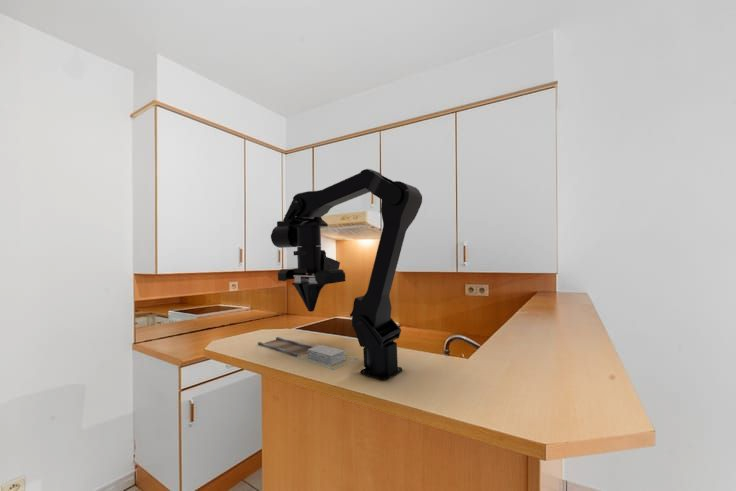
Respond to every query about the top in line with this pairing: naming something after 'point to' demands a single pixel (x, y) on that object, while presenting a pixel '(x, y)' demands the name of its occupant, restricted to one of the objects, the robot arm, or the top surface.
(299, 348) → the slot board
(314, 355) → the pale grey block
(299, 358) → the tray
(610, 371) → the top surface
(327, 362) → the near chip
